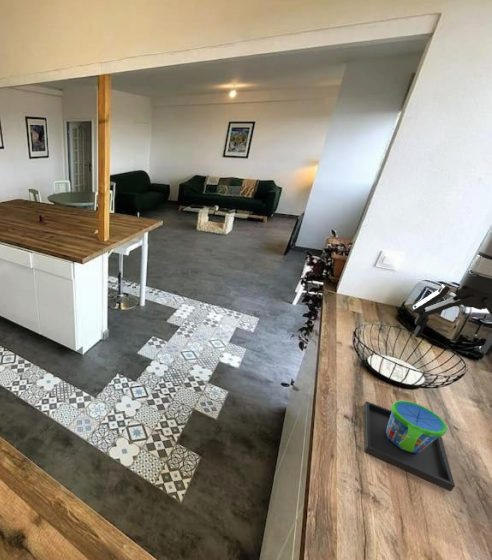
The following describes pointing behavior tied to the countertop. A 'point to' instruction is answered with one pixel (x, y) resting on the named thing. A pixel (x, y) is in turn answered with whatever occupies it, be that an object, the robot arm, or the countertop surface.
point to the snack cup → (413, 426)
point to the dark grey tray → (422, 464)
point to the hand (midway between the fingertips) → (449, 343)
